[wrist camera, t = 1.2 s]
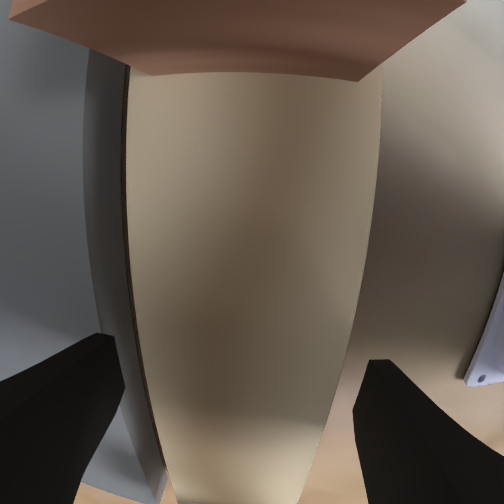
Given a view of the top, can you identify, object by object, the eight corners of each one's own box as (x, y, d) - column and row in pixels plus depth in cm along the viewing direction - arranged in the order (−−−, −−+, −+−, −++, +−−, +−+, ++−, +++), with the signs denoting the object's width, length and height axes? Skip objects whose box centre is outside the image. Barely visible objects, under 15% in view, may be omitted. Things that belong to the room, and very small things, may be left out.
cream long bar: (341, -25, 8) (375, -118, 2) (281, 486, 16) (277, 558, 11) (201, -29, 8) (151, -117, 3) (202, 478, 16) (185, 548, 11)
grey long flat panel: (142, -38, 8) (115, -66, 5) (167, 478, 17) (158, 506, 14) (-6, 19, 8) (-38, 12, 6) (58, 443, 17) (44, 465, 15)
